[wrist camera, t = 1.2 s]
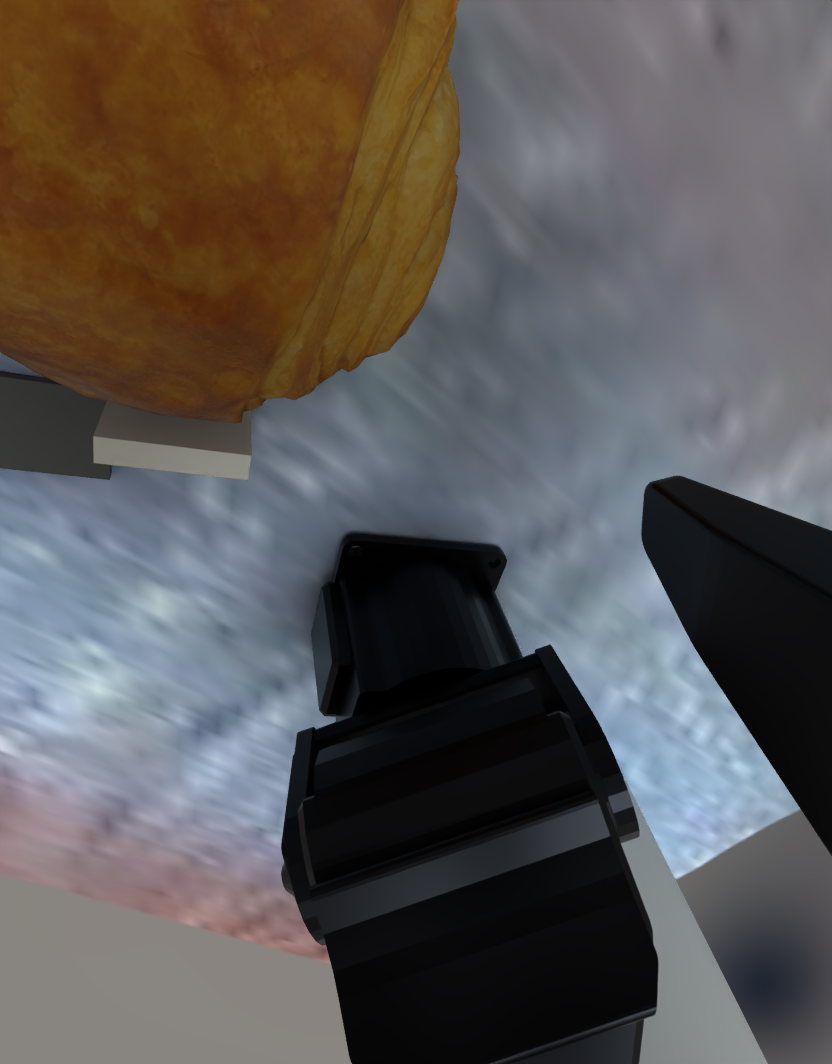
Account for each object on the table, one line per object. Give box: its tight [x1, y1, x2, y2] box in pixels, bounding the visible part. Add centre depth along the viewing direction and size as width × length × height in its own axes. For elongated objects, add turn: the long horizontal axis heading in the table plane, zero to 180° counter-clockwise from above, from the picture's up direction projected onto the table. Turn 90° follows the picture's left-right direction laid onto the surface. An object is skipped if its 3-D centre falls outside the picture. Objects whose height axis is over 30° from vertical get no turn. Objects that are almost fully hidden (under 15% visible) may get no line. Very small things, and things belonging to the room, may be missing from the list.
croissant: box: [0, 0, 460, 423], centre depth 13 cm, size 14×16×8 cm
